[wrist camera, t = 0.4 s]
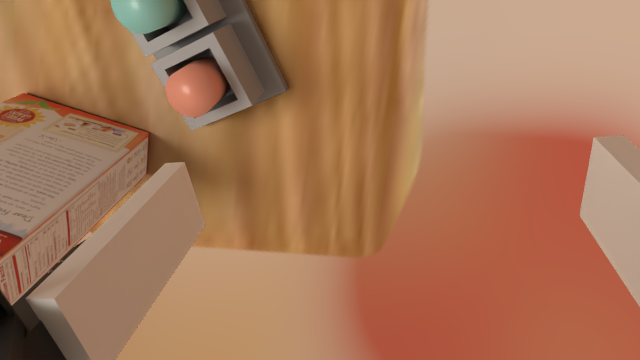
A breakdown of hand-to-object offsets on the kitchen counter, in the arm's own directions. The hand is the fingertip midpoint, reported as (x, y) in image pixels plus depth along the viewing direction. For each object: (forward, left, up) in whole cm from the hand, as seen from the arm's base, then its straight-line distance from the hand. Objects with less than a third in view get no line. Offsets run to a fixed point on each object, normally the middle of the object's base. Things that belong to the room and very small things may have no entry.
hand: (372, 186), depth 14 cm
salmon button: (-3, -15, -22) cm, 27 cm away
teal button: (-10, -15, -22) cm, 28 cm away
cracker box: (-3, -33, -25) cm, 42 cm away
